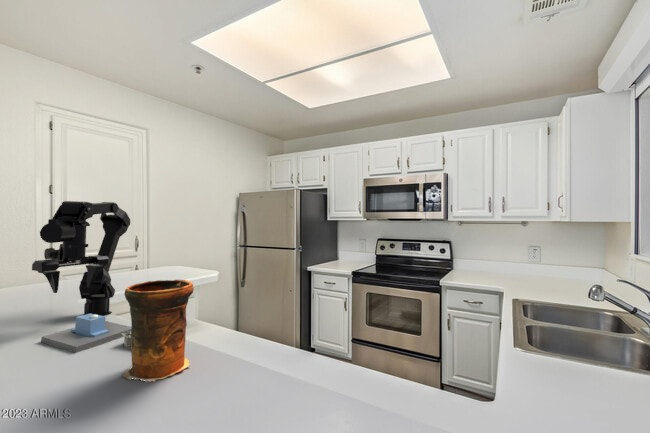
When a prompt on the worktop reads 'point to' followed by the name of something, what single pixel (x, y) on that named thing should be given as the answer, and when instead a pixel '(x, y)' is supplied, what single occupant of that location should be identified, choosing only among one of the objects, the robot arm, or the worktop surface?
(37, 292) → the worktop surface
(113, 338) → the chassis
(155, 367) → the vessel
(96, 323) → the servo
